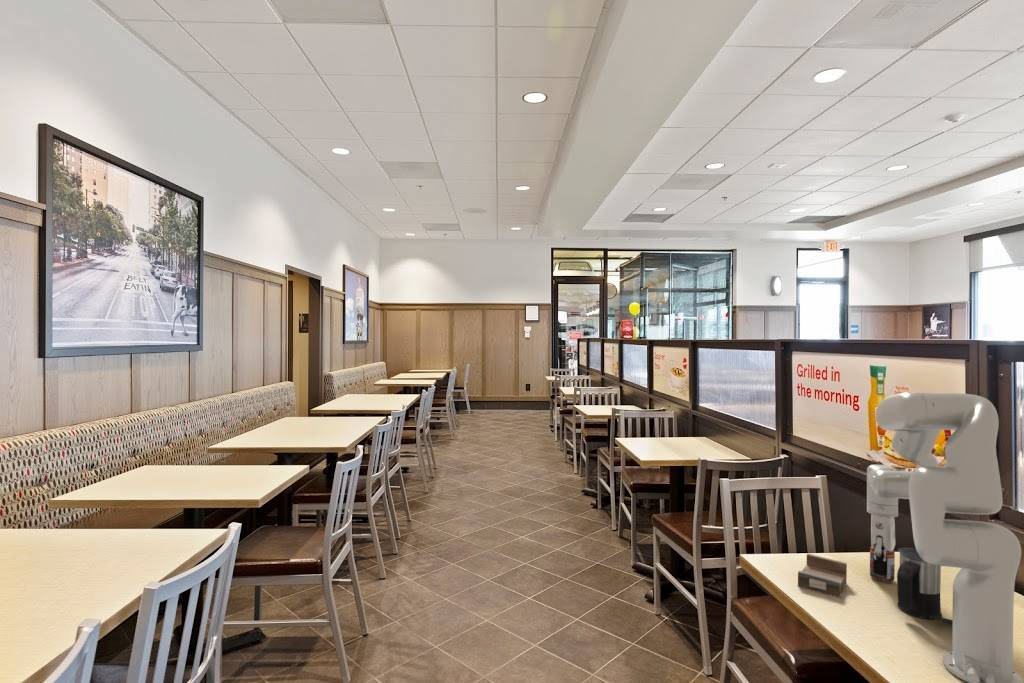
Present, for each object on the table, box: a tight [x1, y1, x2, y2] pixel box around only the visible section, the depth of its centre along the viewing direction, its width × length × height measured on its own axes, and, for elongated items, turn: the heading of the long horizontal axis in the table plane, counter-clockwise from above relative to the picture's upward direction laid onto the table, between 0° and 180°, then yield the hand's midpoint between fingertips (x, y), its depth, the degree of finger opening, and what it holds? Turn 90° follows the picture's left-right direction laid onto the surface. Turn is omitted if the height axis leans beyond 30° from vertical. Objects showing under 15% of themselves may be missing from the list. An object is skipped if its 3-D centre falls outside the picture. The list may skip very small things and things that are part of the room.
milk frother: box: [896, 547, 952, 625], centre depth 134 cm, size 14×16×15 cm
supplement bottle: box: [869, 545, 896, 583], centre depth 156 cm, size 6×6×11 cm
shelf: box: [797, 553, 848, 598], centre depth 152 cm, size 12×10×6 cm
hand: (882, 569), depth 155 cm, fingers closed on supplement bottle, 5 cm apart
